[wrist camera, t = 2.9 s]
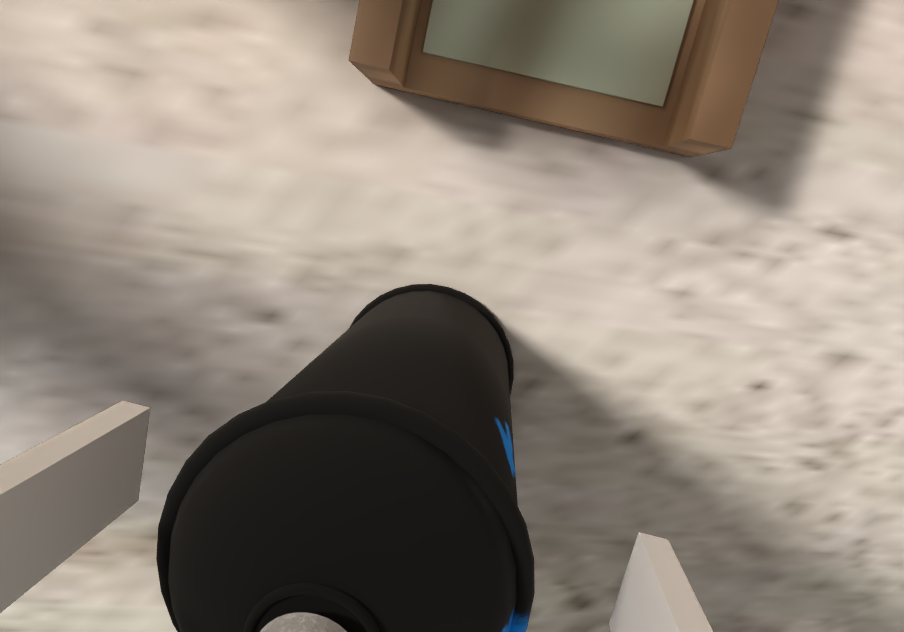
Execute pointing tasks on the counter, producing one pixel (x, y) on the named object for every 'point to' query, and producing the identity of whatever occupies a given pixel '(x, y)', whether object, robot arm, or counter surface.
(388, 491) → the aerosol can
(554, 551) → the counter surface
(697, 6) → the u rest
